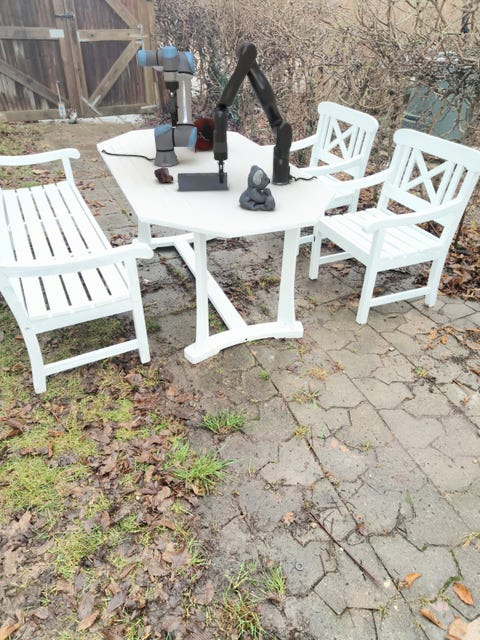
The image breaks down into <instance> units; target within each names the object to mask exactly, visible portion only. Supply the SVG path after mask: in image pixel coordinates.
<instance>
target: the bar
mask: <svg viewBox="0 0 480 640" xmlns="http://www.w3.org/2000/svg"><path fill="white" fill-rule="evenodd" d="M220 174H223V173H222V172H220ZM176 177H177V188H178V192H206V191H207V192H209V191H214V192H215V191H229V190H228V186H229V185H228V172H227V171H224V177H223V179H224V183H222V184H220V180H219V172H178V173H177V176H176Z"/></svg>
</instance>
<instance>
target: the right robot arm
mask: <svg viewBox="0 0 480 640" xmlns="http://www.w3.org/2000/svg"><path fill="white" fill-rule="evenodd" d="M257 57H258V48H257V46H256V45H255V44H254V43H252V42H249V41H240V42H239V43H238V44H237V45H236V48H235V58H236V59H237V63H236V66H235V69H234V70H233V73H232V74H231V76H230V77H229V78H228V80H227V81H226V84H225V86H224V88H223V90H222V92H221V94H220V97H219V100H218V102H217V103H216V104H215V106H214V108H213V110H212V113H211V119H213V121H214V122H215V130H214V148H213V160H214V161H217V163H216V165H217V173H219V180H220V184H222V183H224V179H223V177H224V172H225V167H226V164H225V161H227V160H228V159H229V151H228V150H229V148H228V147H229V146H228V132H227V131H228V124H229V118H228V114H227V113H228V112H229V109H230V108H231V107H232V106H233V104H234V103H235V100H236V97H237V95H238V93H239V91H240V88H241V86H242V84H243V82H244V80H245V78H246V77H247V79H248V82H249V84H250V86H251V88H252V90H253V94H254V95H255V97H256V100H257V102H258V104H259V106H260V107H261V109H262V111H263V113H264V114H265V117H266V118H267V121H268V124H269V127H270V130H271V132H272V134H273V136H274V137H275V145H274V146H273V148H272V175H271V183H272V184H273V185H277V186H285V185H288V184H290V182H291V181H293V179H294V181H298V180H303V181H311V180H312V179H317V180H318V177H317V176H316V175H315V176H314V175H313V176H312V177H310V178H306V177H297V178H296V177H295V176H293V175H292V174H291V166H290V153H291V148H292V144H293V132H294V131H293V125H291V123H289V122H287V121H285V120H284V118H283V116H282V114H281V112H280V110H279V107H278V101H277V96H276V93H275V91H274V88H273V86H272V84H271V82H270V81H269V79H268V77H267V76H266V75H265V73H264V72H263V70H262V69H261V68H260V66H259V64H258V61H257ZM220 172H222V173H223V174H220ZM313 242H316V235H314V236H313Z"/></svg>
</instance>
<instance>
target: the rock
mask: <svg viewBox="0 0 480 640" xmlns="http://www.w3.org/2000/svg"><path fill="white" fill-rule="evenodd" d="M153 173H154V177H155V178H156V179H157V181H158V182H160V183H162V184H163V183H172V182H174V181H175V179H174V176H173V175H171V174H170V172H169V167H160V168H156V169H155V170H154V172H153Z"/></svg>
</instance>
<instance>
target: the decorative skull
mask: <svg viewBox="0 0 480 640" xmlns="http://www.w3.org/2000/svg"><path fill="white" fill-rule="evenodd" d="M193 124H194V127H196V128H197V138H196V144H195V146H194V147H193V148H194V153H197V150H204V151H207V150H212V149H214V130H215V122H214V121H213V119H212V117H211V118H210V117H202V118H201V117H200V118H199V119H197V120H195V121H194V122H193Z"/></svg>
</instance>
